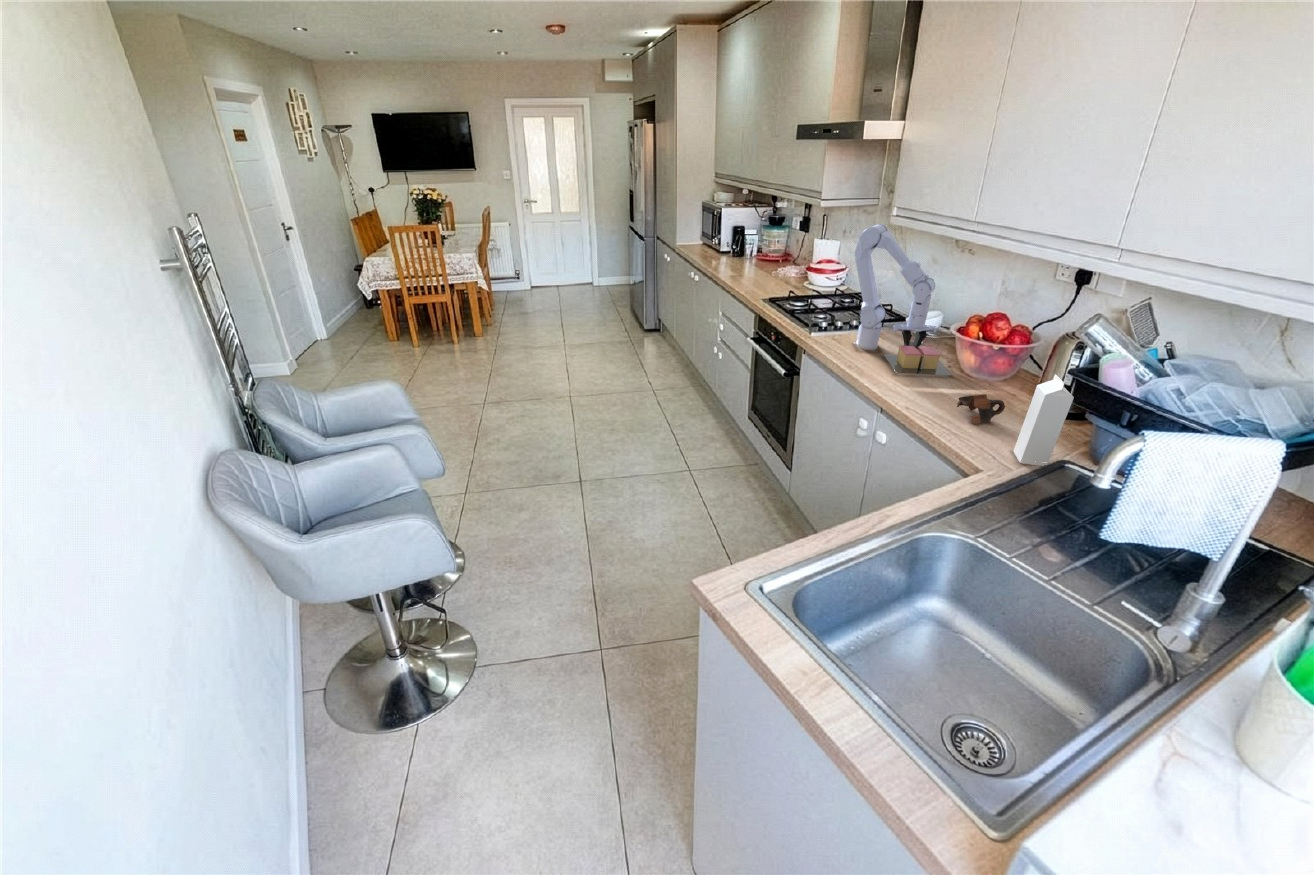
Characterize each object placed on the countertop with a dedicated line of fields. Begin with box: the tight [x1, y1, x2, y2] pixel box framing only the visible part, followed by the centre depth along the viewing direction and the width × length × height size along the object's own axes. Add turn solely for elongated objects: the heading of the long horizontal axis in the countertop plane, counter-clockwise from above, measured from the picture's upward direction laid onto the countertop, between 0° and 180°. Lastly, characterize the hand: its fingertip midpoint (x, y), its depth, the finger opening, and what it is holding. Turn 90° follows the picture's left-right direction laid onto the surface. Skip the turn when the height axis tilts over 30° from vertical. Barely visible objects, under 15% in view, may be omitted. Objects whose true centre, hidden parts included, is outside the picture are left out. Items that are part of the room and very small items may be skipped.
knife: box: [909, 341, 924, 369], centre depth 198 cm, size 17×2×4 cm, turn 174°
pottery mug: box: [956, 393, 1006, 425], centre depth 161 cm, size 12×10×8 cm
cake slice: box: [917, 345, 941, 369], centre depth 195 cm, size 8×5×5 cm, turn 174°
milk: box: [1013, 374, 1075, 467], centre depth 136 cm, size 6×6×22 cm
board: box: [883, 354, 952, 376], centre depth 197 cm, size 18×18×1 cm
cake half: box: [897, 345, 921, 369], centre depth 195 cm, size 8×5×5 cm, turn 174°
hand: (909, 350), depth 203 cm, fingers closed on knife, 2 cm apart
